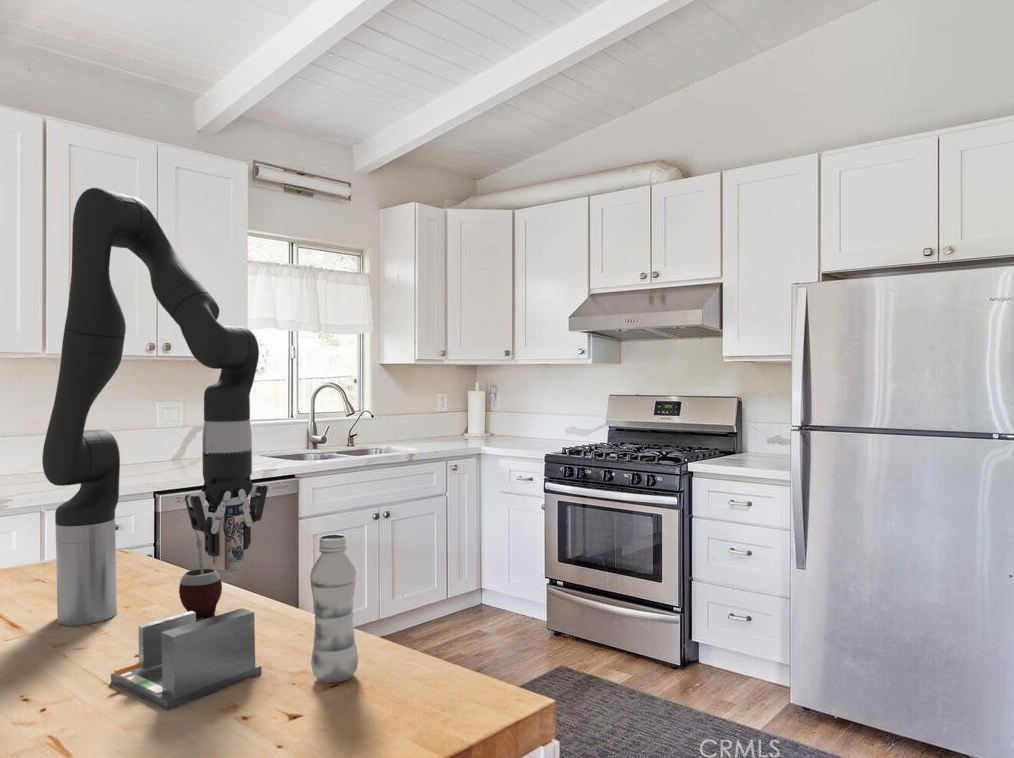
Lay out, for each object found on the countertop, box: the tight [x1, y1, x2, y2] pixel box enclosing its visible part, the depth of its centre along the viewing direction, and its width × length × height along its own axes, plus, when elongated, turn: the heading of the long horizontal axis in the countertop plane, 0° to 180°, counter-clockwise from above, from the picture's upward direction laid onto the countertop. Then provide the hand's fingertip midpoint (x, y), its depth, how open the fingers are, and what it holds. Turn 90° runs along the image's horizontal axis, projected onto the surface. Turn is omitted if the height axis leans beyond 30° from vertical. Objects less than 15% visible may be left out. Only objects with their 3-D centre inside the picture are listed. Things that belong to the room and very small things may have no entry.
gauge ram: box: [113, 611, 197, 675], centre depth 107 cm, size 2×12×6 cm, turn 143°
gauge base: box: [110, 607, 263, 712], centre depth 106 cm, size 15×14×9 cm
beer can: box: [212, 497, 245, 574], centre depth 122 cm, size 5×5×12 cm
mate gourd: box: [178, 530, 223, 621], centre depth 133 cm, size 8×8×15 cm
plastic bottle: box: [309, 533, 359, 684], centre depth 105 cm, size 6×7×20 cm
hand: (228, 551), depth 122 cm, fingers closed on beer can, 4 cm apart
